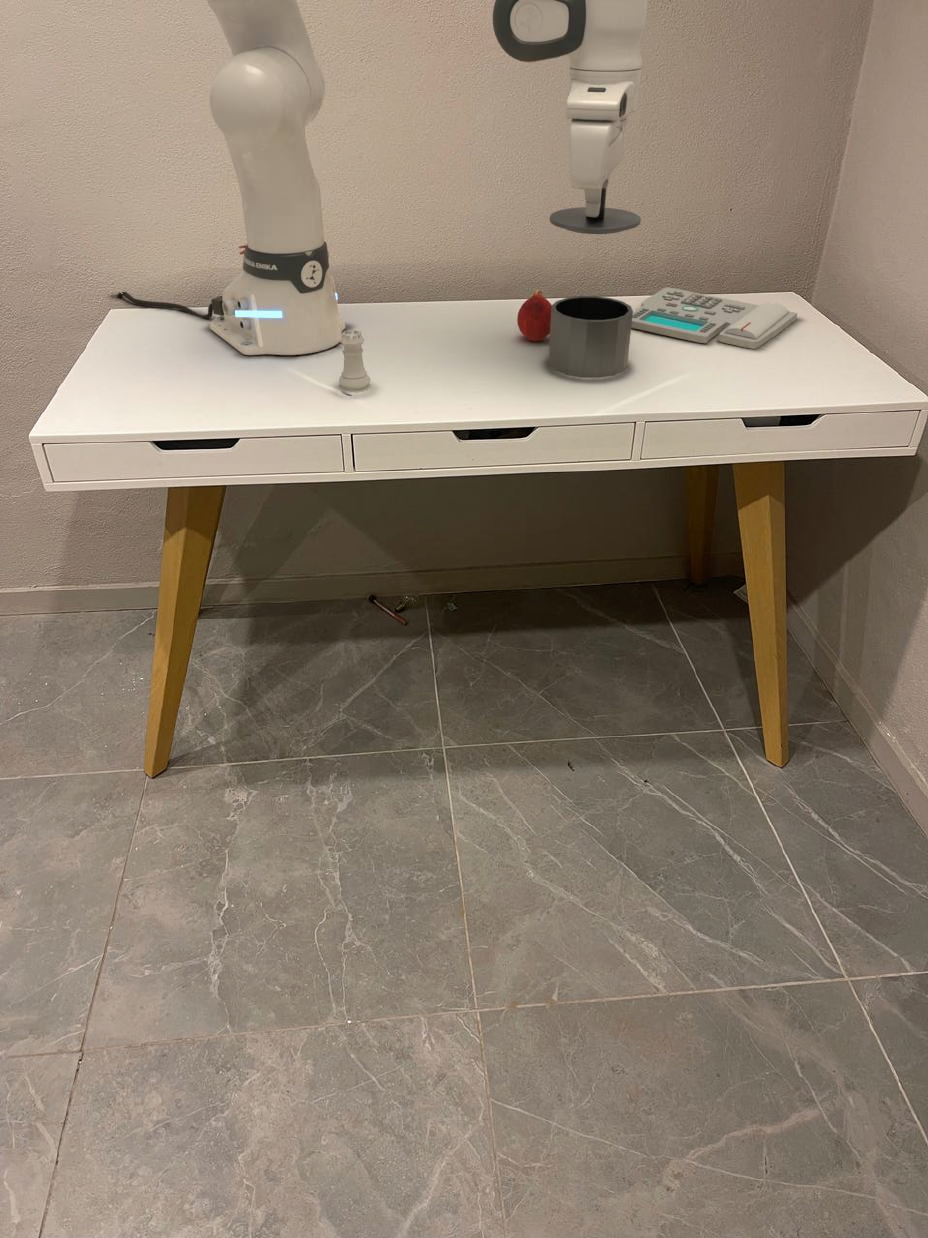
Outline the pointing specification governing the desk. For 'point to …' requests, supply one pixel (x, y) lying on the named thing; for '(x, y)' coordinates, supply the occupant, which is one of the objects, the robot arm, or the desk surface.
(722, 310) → the office telephone
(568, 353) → the pot
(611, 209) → the lid
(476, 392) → the desk surface
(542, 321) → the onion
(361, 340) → the rook chess piece
